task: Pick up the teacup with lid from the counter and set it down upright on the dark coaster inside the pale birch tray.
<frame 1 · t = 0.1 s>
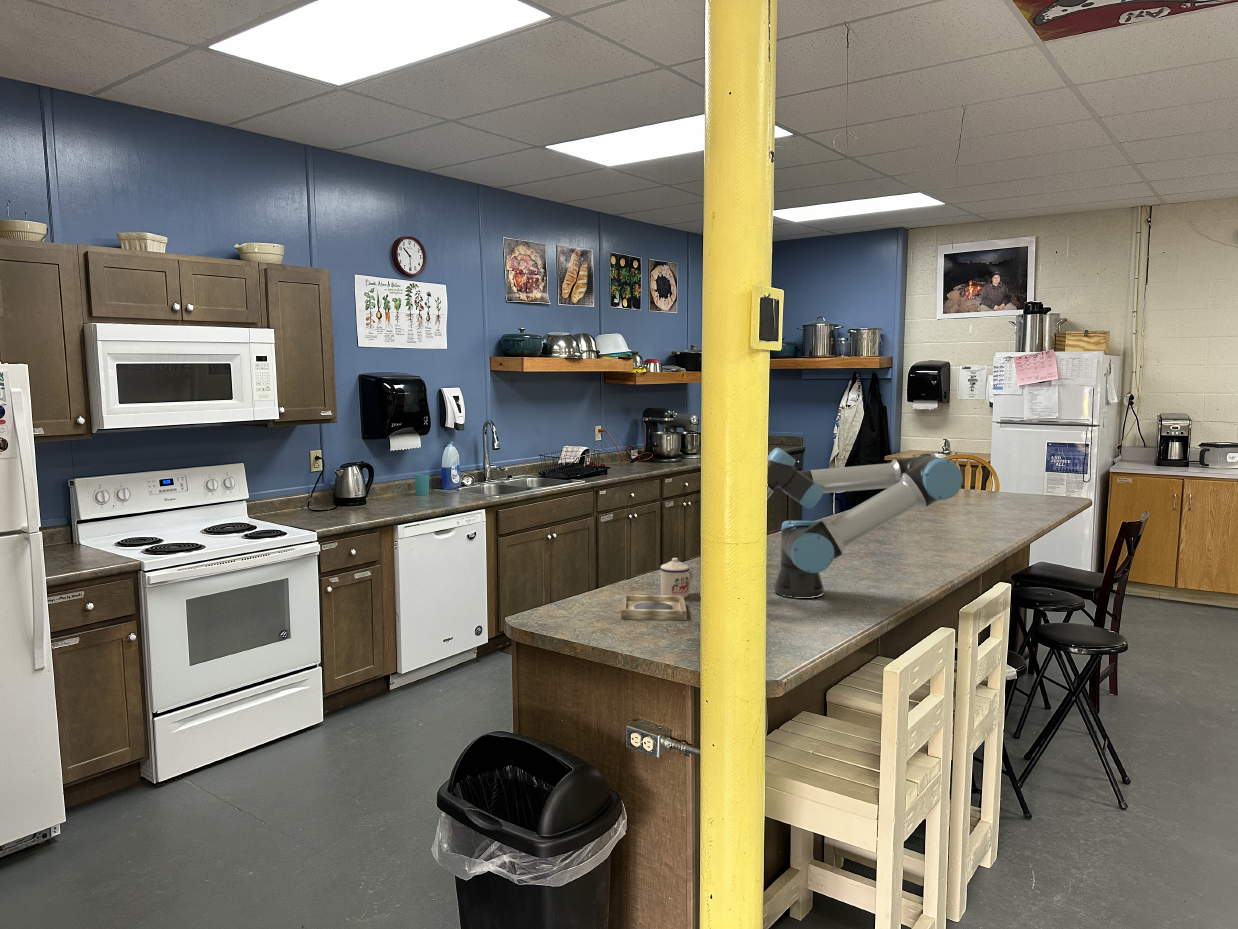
hand: (711, 552, 244), 15 cm above the countertop, tool tilted 35°, fingers open, 13 cm apart
birch tray: (653, 611, 236), on the countertop
teacup with lid: (677, 595, 255), on the countertop
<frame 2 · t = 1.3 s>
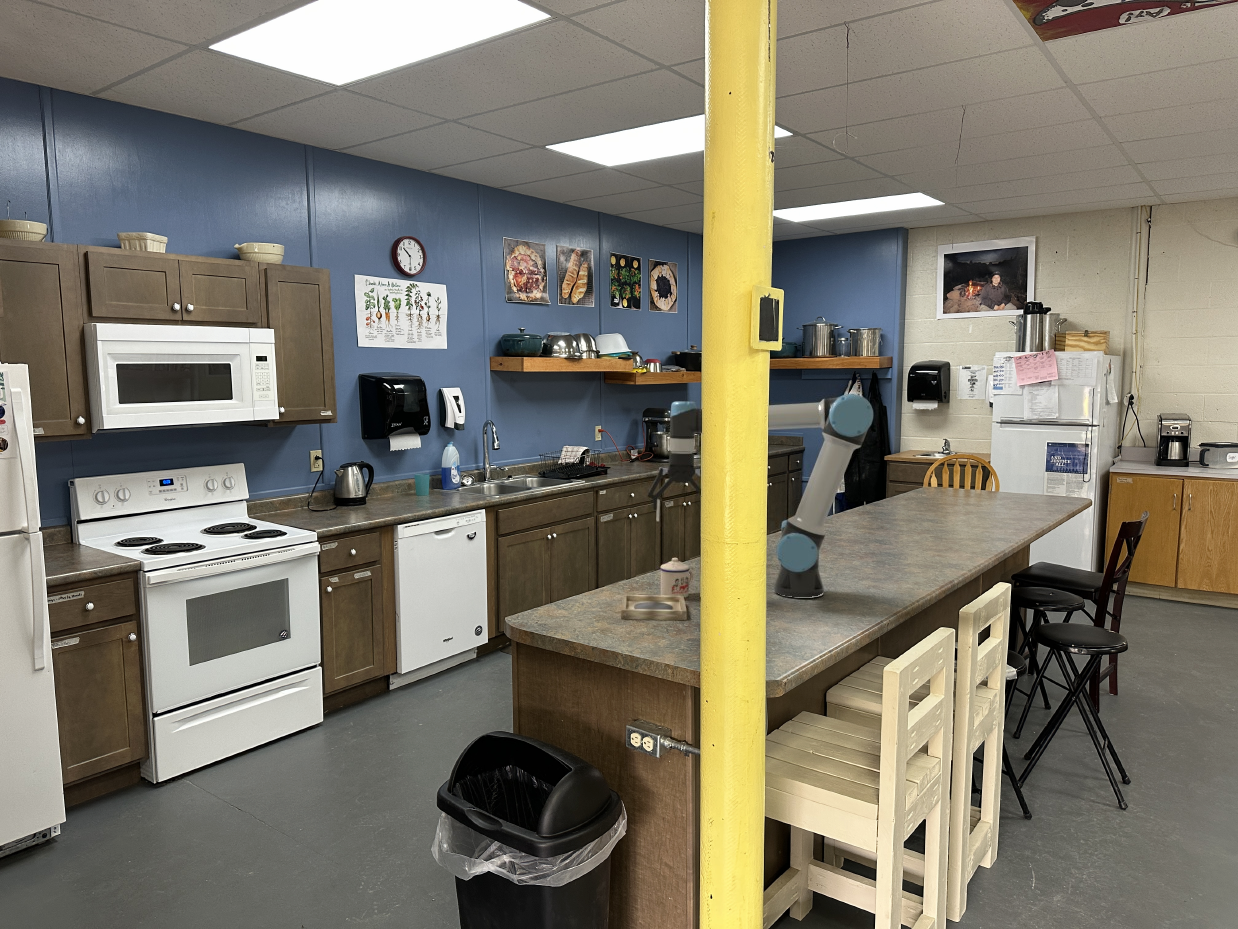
hand: (679, 521, 253), 23 cm above the countertop, tool pointing down, fingers open, 13 cm apart
nothing on the countertop moved.
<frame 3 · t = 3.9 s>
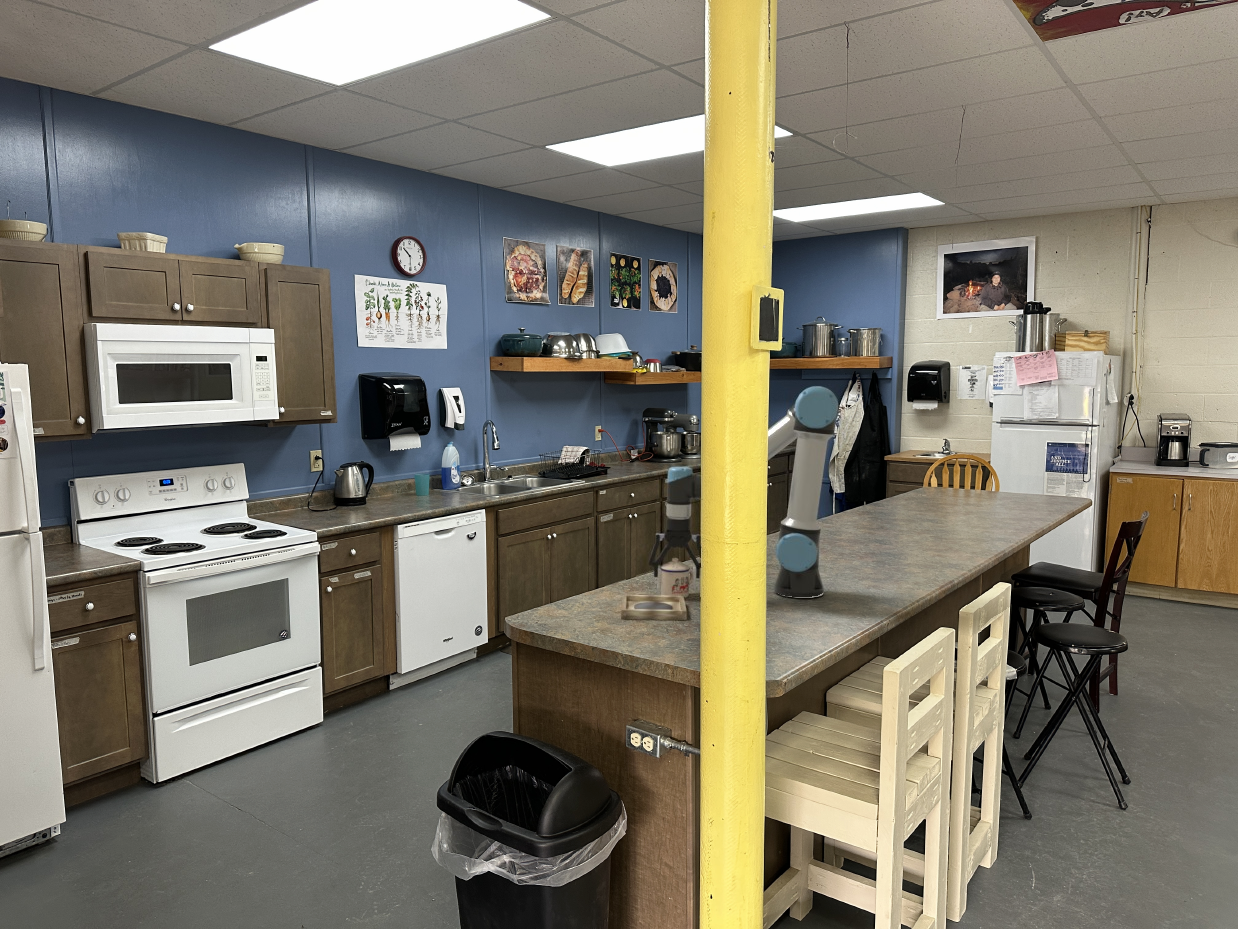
hand: (676, 588, 255), 2 cm above the countertop, tool pointing down, fingers open, 10 cm apart
teacup with lid: (678, 595, 255), on the countertop, touching gripper
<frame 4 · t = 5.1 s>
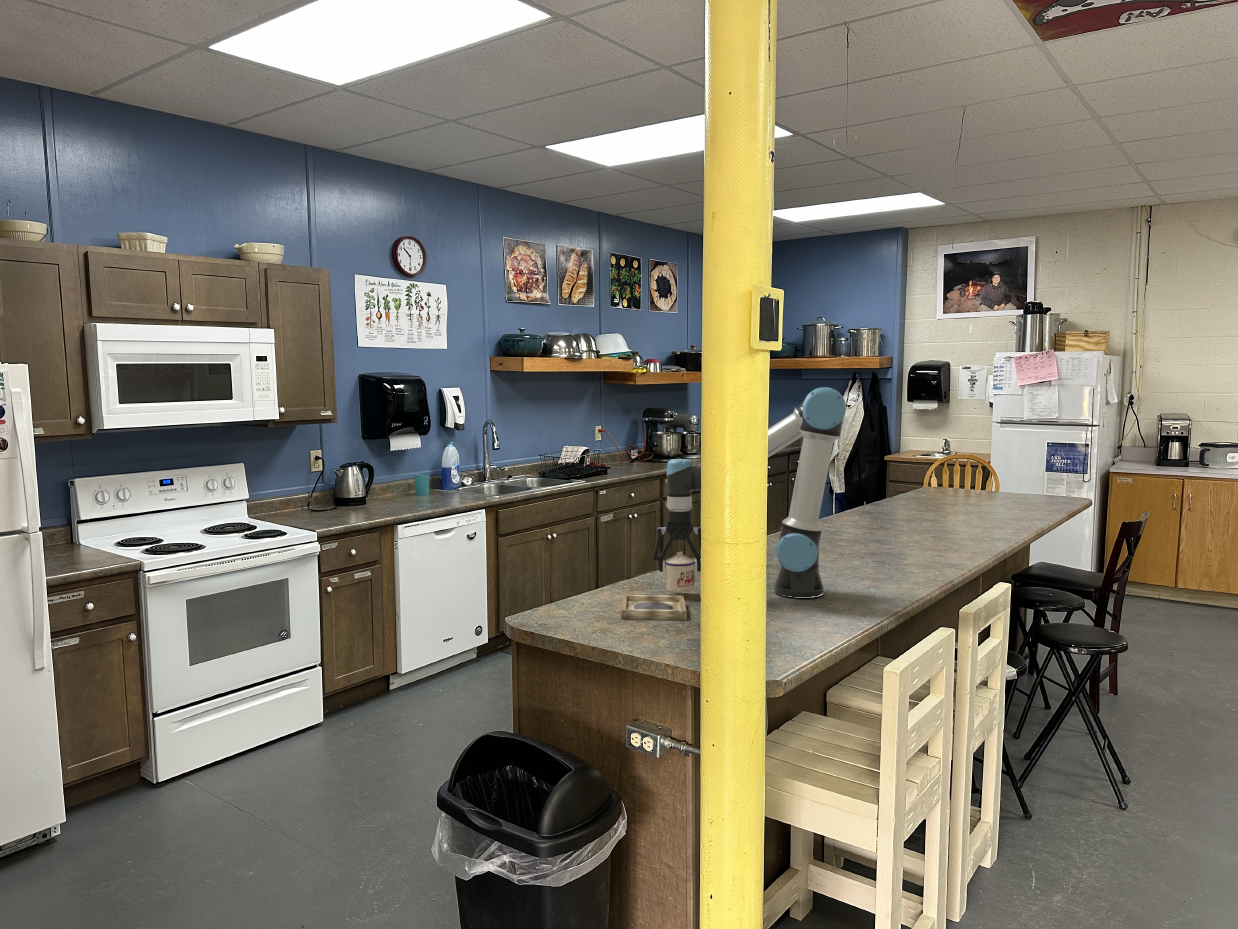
hand: (679, 581, 255), 4 cm above the countertop, tool pointing down, fingers closed on teacup with lid, 9 cm apart
teacup with lid: (683, 589, 255), point 2 cm above the countertop, touching gripper
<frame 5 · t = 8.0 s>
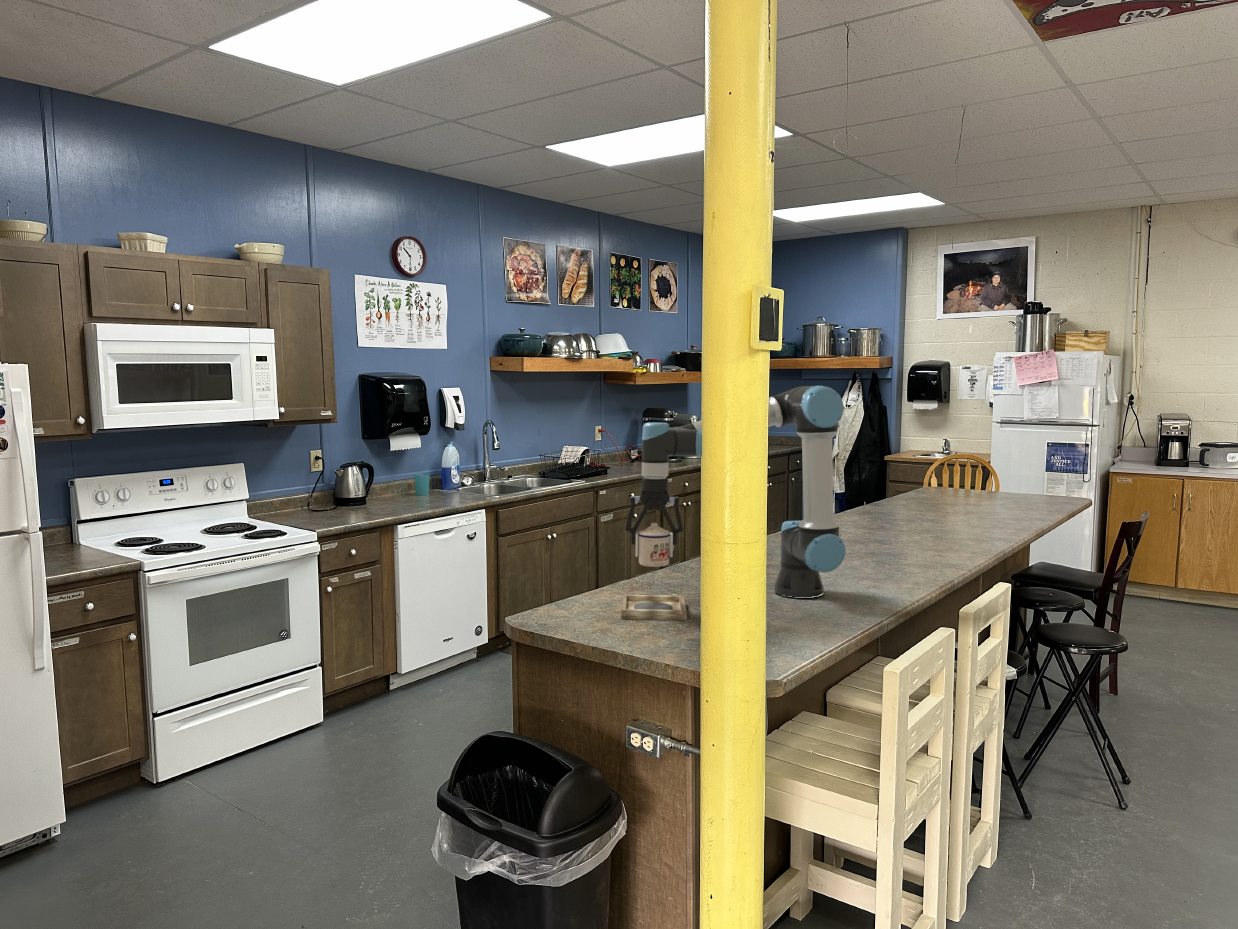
hand: (653, 555, 235), 16 cm above the countertop, tool pointing down, fingers closed on teacup with lid, 9 cm apart
teacup with lid: (657, 563, 235), point 14 cm above the countertop, touching gripper
when the fingers open (4 cm above the countertop, at t = 10.9 s): teacup with lid stays where it is, resting on birch tray.
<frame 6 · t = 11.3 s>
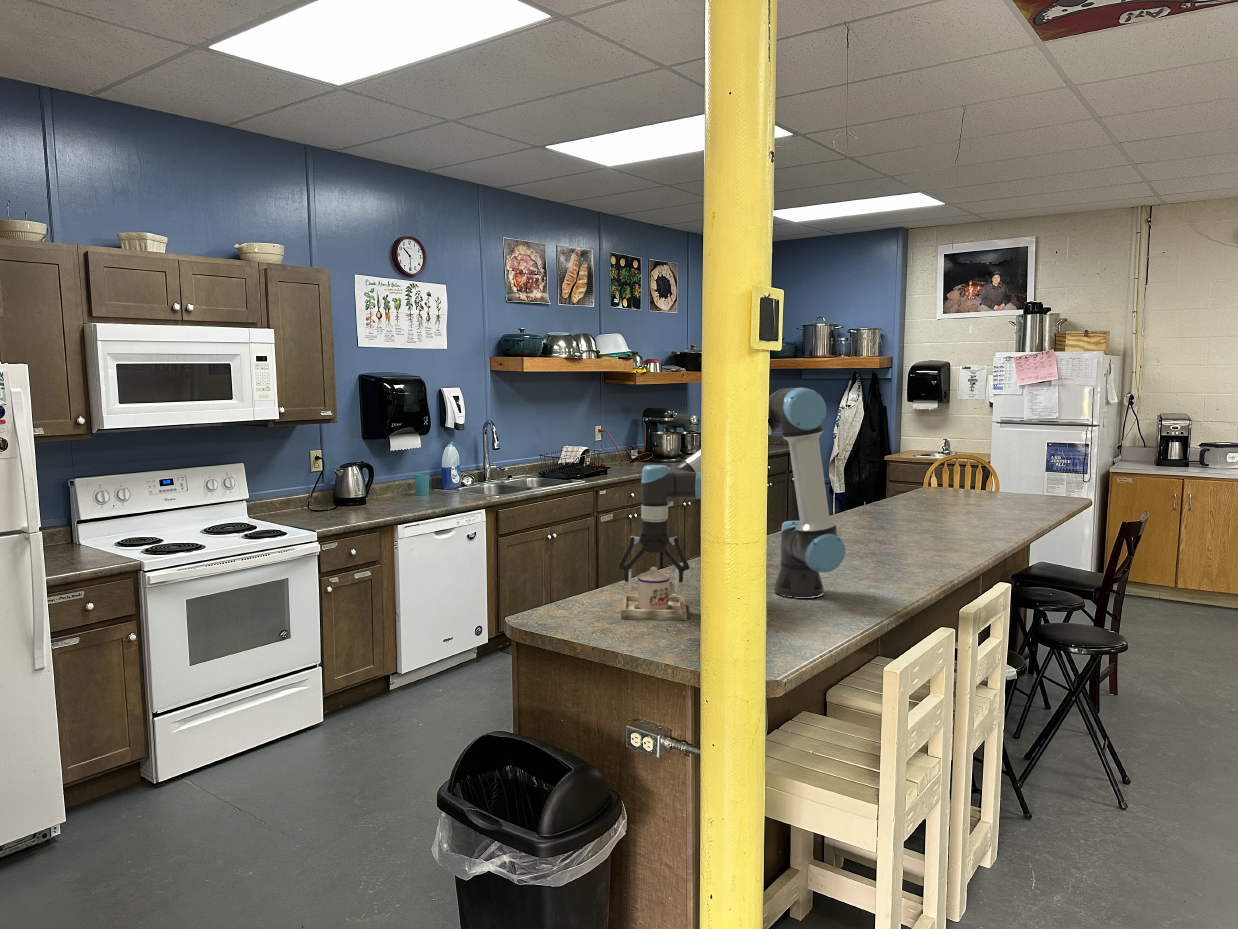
hand: (653, 593, 236), 5 cm above the countertop, tool pointing down, fingers open, 13 cm apart
teacup with lid: (657, 607, 236), point 1 cm above the countertop, touching birch tray
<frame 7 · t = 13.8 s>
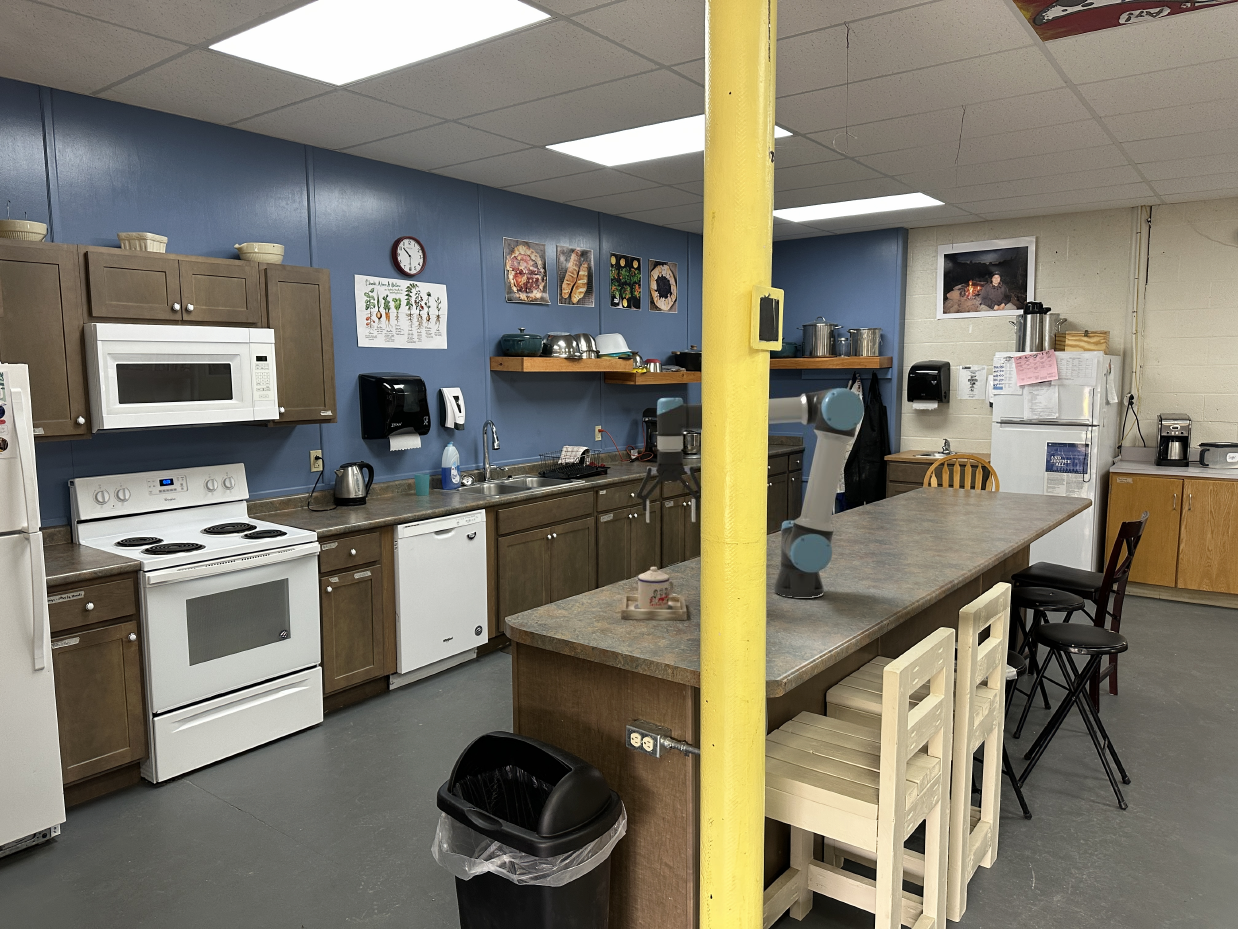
hand: (670, 521, 245), 24 cm above the countertop, tool pointing down, fingers open, 13 cm apart
nothing on the countertop moved.
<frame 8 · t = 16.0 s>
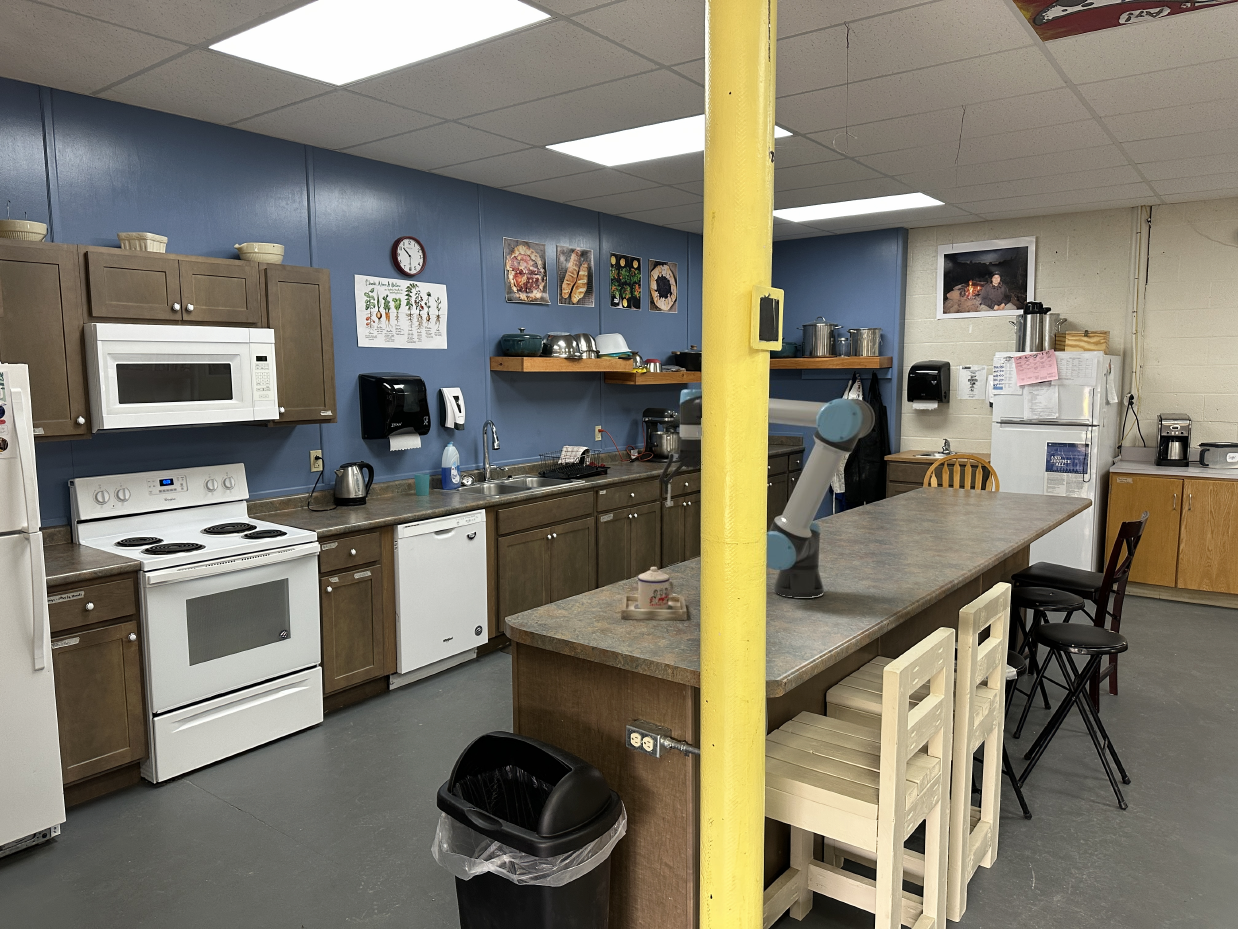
hand: (690, 505, 263), 27 cm above the countertop, tool pointing down, fingers open, 13 cm apart
nothing on the countertop moved.
at the end: teacup with lid 1.1 cm off-centre on the birch tray, point 1.1 cm above the birch tray's base; teacup with lid tilted 0°; the gripper is holding nothing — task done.
